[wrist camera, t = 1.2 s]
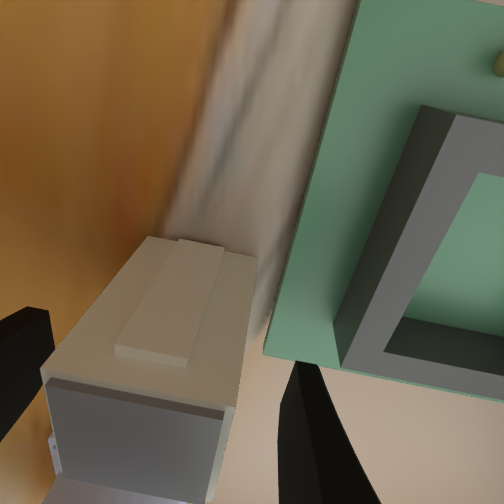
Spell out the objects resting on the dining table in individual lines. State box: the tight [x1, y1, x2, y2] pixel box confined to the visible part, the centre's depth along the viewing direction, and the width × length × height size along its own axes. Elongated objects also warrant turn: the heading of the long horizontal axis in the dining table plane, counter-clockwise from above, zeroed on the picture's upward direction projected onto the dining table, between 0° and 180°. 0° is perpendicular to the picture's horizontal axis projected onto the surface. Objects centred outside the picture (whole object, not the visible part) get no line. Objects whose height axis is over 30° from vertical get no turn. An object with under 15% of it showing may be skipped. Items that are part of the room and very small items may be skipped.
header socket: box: [263, 0, 504, 403], centre depth 10 cm, size 12×12×3 cm
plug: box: [40, 236, 258, 504], centre depth 10 cm, size 4×4×6 cm
